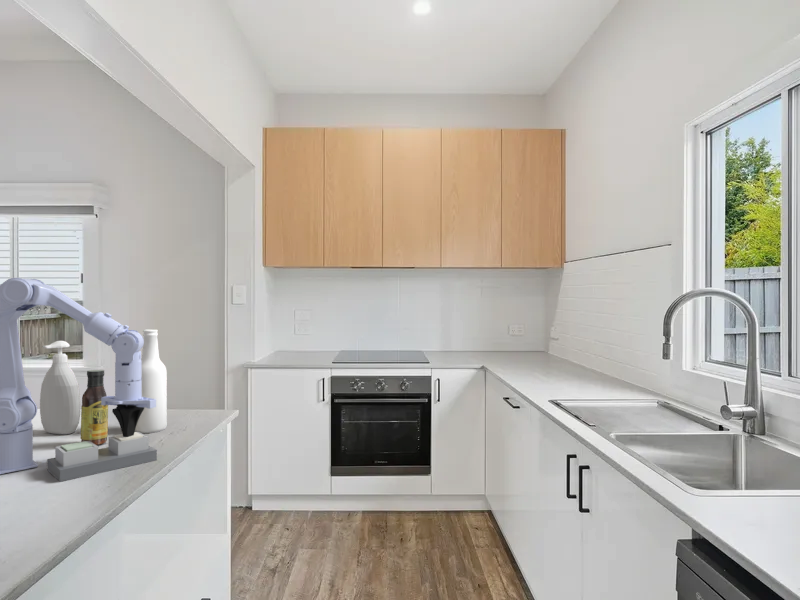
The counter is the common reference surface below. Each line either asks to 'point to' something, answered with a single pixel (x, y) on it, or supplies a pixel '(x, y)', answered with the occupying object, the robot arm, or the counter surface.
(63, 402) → the soap bottle
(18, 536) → the counter surface
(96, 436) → the sauce bottle
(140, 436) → the cream key
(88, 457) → the key console
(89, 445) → the sage key
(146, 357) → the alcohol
